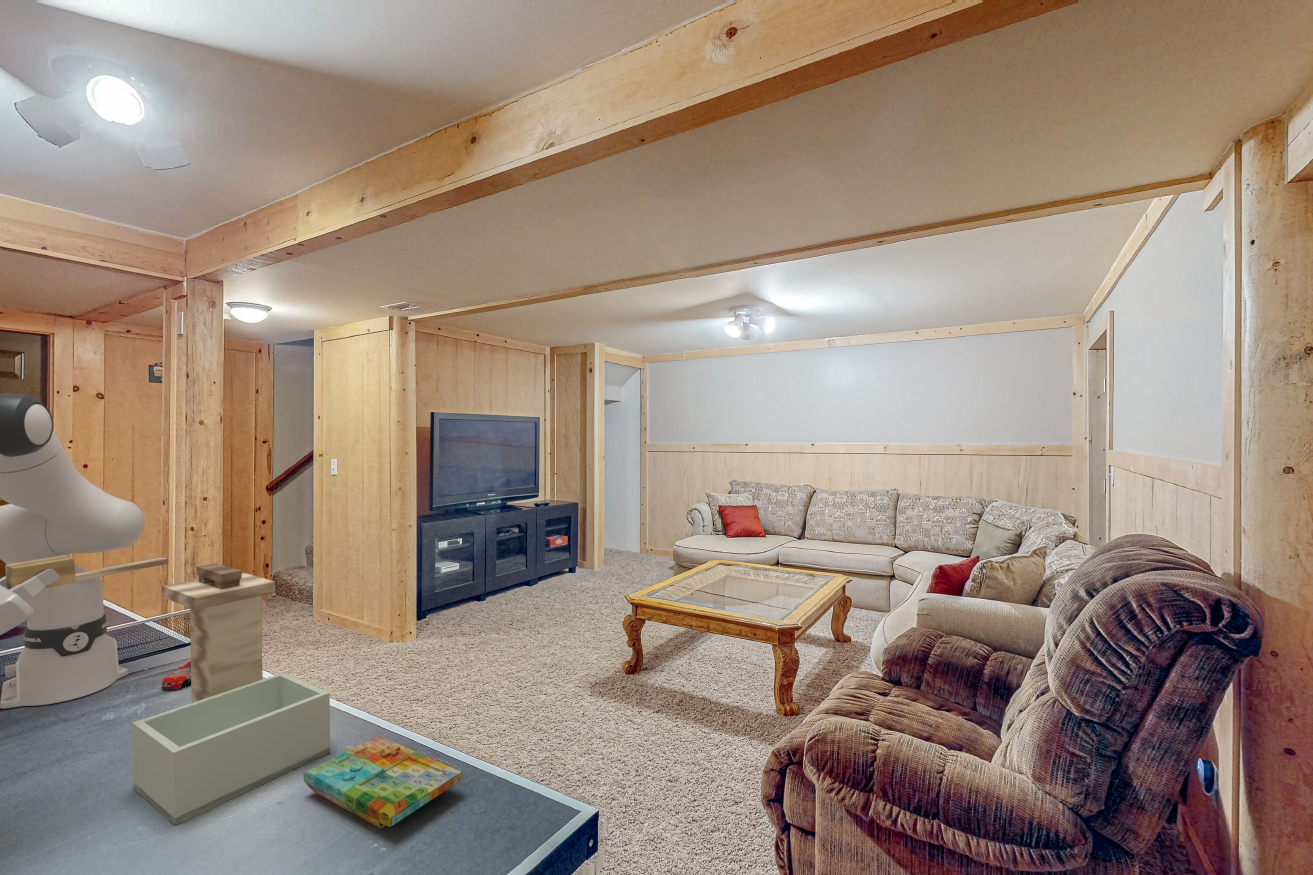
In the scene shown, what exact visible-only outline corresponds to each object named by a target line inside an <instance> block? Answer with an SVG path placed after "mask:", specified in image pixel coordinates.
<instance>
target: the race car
mask: <svg viewBox="0 0 1313 875" xmlns="http://www.w3.org/2000/svg"><path fill="white" fill-rule="evenodd" d="M188 686H189V687H191V660H190V661H188V662H187V663H185V664H183V666H179V669H178V670H176V671H174V672H172V673H170V674H168V675H167V676H165V677H164V678H163V679H162V681H161V688H162V689H163V690H171V691H172V690H181V688H185V687H187V688H189V687H188ZM185 689H186V688H185Z"/></svg>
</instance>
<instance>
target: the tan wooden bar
mask: <svg viewBox="0 0 1313 875" xmlns="http://www.w3.org/2000/svg"><path fill="white" fill-rule="evenodd" d="M74 562H75V558H74V557H72V556H71V557H69V556H66V555H64V556H58V557H52V558H45V559H39V560H33V561H27V562H20V563H14V564H8V565H7V564H5V565H4V568H5V569H4V570H5V576H6V582H7V589H11V588H13V587H15V586H17V585H19V584H20V585H21V584H22V583H24V582H26V581H27V580H29V579H30V578H32V577H34V575H35V574H36V573H38V572H40V571H42V570H44V569H46V568H51V569H54V570H55V571H56V572H57V573H58V574H59V579H58V580H56V581H54V582H53V583H51V584H49V585H47V586H46V587H45V588H44V589H46V588H51V587H56V586H61V585H67V584H72V583H76V581H80V580H86V579H91V578H96V577H99V578H100V577H106V576H111V575H116V574H121V573H122V574H123V573H128V572H133V571H139V570H143V569H144V570H145V569H147V568H154V567H159V566H163V565H168V564H169V558H166V557H158V558H151V559H146V560H142V561H136V562H131V563H125V564H119V565H114V566H108V567H102V568H98V569H96V568H95V569H92V570H87V571H85V572H80V573H75V564H76V562H75V563H74Z"/></svg>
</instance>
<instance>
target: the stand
mask: <svg viewBox="0 0 1313 875" xmlns="http://www.w3.org/2000/svg"><path fill="white" fill-rule="evenodd" d="M196 575H197V576H198V578H196V579H191V580H186V581H181V582H176V583H175V582H174V583H169V584H165V585H161V598H163V599H166V600H168V601H171V602H174V603H176V604H179V605H182V606H184V607H186V608H189V624H190V626H189V632H190V633H189V635H190V638H189V639H190V640H189V641H190V661H191V685H190V687H191V689H190V690H191V703H194V702H197V701H200V700H203V699H206V698H209V697H212V696H215V695H218V694H221V693H224V692H227V691H230V690H233V689H236V688H239V687H242V686H245V685H248V684H251V683H254V682H257V681H260V680H263V679H264V678H263V640H262V639H263V624H262V623H263V622H262V620H263V619H262V618H263V617H262V596H266V595H267V596H268V595H270V594H275V593H276V581H275V580H271V579H267V578H263V577H260V576H256V575H253V574H250V573H247V572H243V571H242V570H241V569H237V568H233V567H230V566H226V565H223V564H220V563H210V564H206V565H204V564H203V565H199V566H196Z"/></svg>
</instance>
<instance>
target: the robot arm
mask: <svg viewBox="0 0 1313 875" xmlns="http://www.w3.org/2000/svg"><path fill="white" fill-rule="evenodd" d="M0 498H1V499H2V501H5V502H6V503H8V504H3V505H0V560H1V561H2V562H4V564H5V565H8V564H14V563H20V562H27V561H33V560H39V559H45V558H52V557H58V556H64V555H66V556H69V557H72V556H71V555H75V554H76V555H77V554H93V553H95V554H96V553H97V554H98V553H106V552H109V551H110V552H111V551H115V550H119V549H123V548H128V547H131V546H132V545H134V544H135V543H136V542H137V541H138V540H139V538H140V537H141V536H142V534H143V531H144V529H145V525H146V524H145V521H146V520H145V517H144V513H143V512H142V510H141V508H139V506H138V505H136V504H135V503H134V502H132V501H128V500H125V499H122V498H120V497H116V496H115V495H112V494H110V493H108V492H106V491H105V490H103V489H101V488H100V487H97V486H96V485H95V484H94V483H92V482H90V481H89V480H88V479H86V477H84V475H83V474H81V473H80V472H79V471H78V470H77V468H76V467H75V465H74V463H73V461H72V460H71V459H70V457H69V455H68V454H67V452H66V450H65V448H64V447H63V445H62V443H61V441H60V440H59V437H58V436H57V434H56V433H55V431H54V421H53V416H52V413H51V411H50V410H49V408H48V406H46V405H45V404H44V403H43V402H41V401H40V400H39V399H37V398H35V397H33V396H31V395H27V394H22V393H17V392H16V393H13V392H1V393H0ZM74 563H75V573H80V572H85V571H88V570H87V569H84V568H82V567H81V566H79V565H78V564H77V563H76V562H75V561H74ZM58 579H59V574H58V573H57V572H56V571H55V570H54V569H51V568H46V569H44V570H42V571H40V572H38V573H36V574H35V575H34V577H32V578H30V579H29V580H27V581H26V582H24V583H22V584H21V585H20V584H19V585H17V586H15V587H13V588H11V589H7V582H6V575H5V576H3V577H1V578H0V636H2V635H4V634H5V633H7V632H9V631H10V630H11V631H12V629H14V628H16V627H19V626H20V625H21V624H23V623H24V622H26V627H25V628H24V630H23V634H22V640H23V643H22V644H23V649H22V650H21V652H20V653H19V655H18V657H17V661H16V662H15V663H12V664H7V665H5V666H4V671H5V674H4V675H5V678H10V677H13V678H10V679H8V680H5V681H4V682H2V687H1V694H0V709H12V708H18V707H26V706H27V707H29V706H31V707H34V706H35V707H36V706H43V705H50V704H52V705H53V704H56V703H61V702H66V701H71V700H74V699H78V698H82V697H85V696H88V695H92V694H94V693H96V692H99V691H101V690H103V689H105V688H108V687H109V686H111V685H112V684H114V683H115V682H116V681H118V679H121V678H123V677H125V676H127V675H128V674H129V670H128V668H126V667H121V666H119V658H118V657H119V656H118V646H117V639H116V638H114V637H112V636H110V635H108V634H107V631H108V620H107V615H106V614H105V613H104V583H103V581H102V579H101V578H100V577H96V578H91V579H86V580H80V581H76V583H72V584H67V585H61V586H56V587H51V588H46V589H44V588H45V587H46V586H47V585H49V584H51V583H53V582H54V581H56V580H58ZM15 676H16V677H15Z"/></svg>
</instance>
